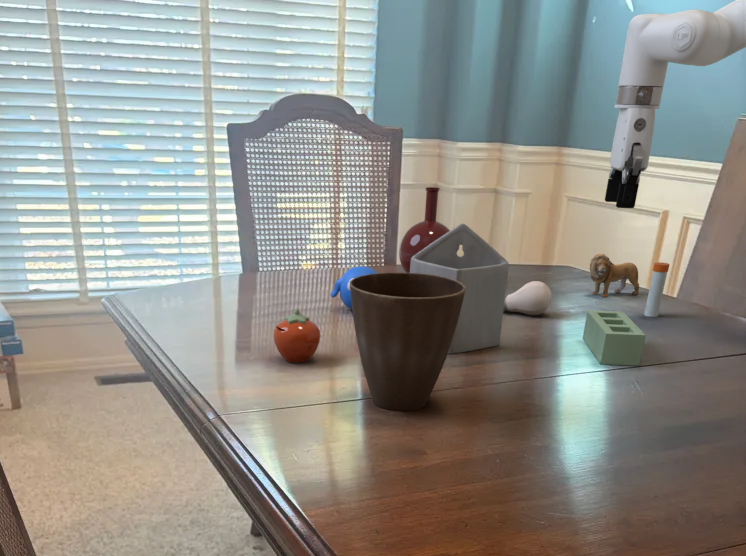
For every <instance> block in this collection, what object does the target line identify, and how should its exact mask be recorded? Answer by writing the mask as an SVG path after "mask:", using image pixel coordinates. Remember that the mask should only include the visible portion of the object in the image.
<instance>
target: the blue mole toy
mask: <svg viewBox="0 0 746 556" xmlns="http://www.w3.org/2000/svg"><path fill="white" fill-rule="evenodd" d="M376 273H378V272H377V271H376V270H375V269H373V268H371V267H368V266H363V265H362V266H360V265H358V266H354V267H351V268H350V269H348V270H346V272H344V274H343V275H342V277H340V278H338V279H336V281H335V282H334V286H333V289H332V291H331V292H330V298H335V297H337V296H338V294H339V298H340V300H341V301H342V303H343V305H344V306H345V307H346V308H347V309H349V310H351V311H353V310H352V300H351V290H350V281H351V280H352V279H354V278H356V277H359V276H363V275H368V274H376Z"/></svg>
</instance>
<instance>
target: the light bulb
mask: <svg viewBox="0 0 746 556" xmlns="http://www.w3.org/2000/svg"><path fill="white" fill-rule="evenodd" d="M552 297H553V296H552V292H551V288H550V287H549V286H548V285H547V284H546V283H545V282H543V281H540V280H532V281H530V282H527V283H525V284H524V285H522V286H521V288H519V289H517V290H516V291H514V292H511V293H509V294H508V295H507V296H505V301H504V309H503V313H504V312H510V313H511V312H518V313H520V314H521V313H522V314H525V315H528V316H539V315H541V314H544V313H545V312H546V311H547V310H548V309H549V307H550V305H551V303H552Z"/></svg>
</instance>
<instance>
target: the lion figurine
mask: <svg viewBox="0 0 746 556" xmlns="http://www.w3.org/2000/svg"><path fill="white" fill-rule="evenodd" d="M589 274H590V278H591V280H592V282H594V291H592V292H591V295H593V296H597V295H599V293H600V290H601V284H603V290H602V293H601V295H600V296H601V298H607V297H608V295H609V288H610V284H611V283H616V282H619V281H620V286H619V288H617V289H614V290H613V291H614V293H616V294H618V293H621V292H622V291H623V290H624V289H625V288H626V283H627V281H629V283H630V284H631V285H632V286H633V289H634V291H633V290H632V292H631V295H633V296H637V295H639V291H640V284H639V269H638V267H637V265H636V264H634V263H633V262H623V263H619V264H614V263H613V262H612V261H611V260H610V257H609V256H607V255H606V254H605V253H597V254H595V255H594V256H593V257H592V258H591V259H590V263H589Z"/></svg>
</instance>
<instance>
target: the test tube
mask: <svg viewBox="0 0 746 556" xmlns="http://www.w3.org/2000/svg"><path fill="white" fill-rule="evenodd" d="M669 270H670V264H669V263H667V262H661V261H660V262H654V263H653V267H652V276H651V279H650V285H649V290H648V293H647V299H646V303H645V308H644V311H643V316H644V317H648V318H658V316H659V312H660V307H661V304H662V303H661V302H662V297H663V293H664V289H665V285H666V280H667V275H668V272H669Z"/></svg>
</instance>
